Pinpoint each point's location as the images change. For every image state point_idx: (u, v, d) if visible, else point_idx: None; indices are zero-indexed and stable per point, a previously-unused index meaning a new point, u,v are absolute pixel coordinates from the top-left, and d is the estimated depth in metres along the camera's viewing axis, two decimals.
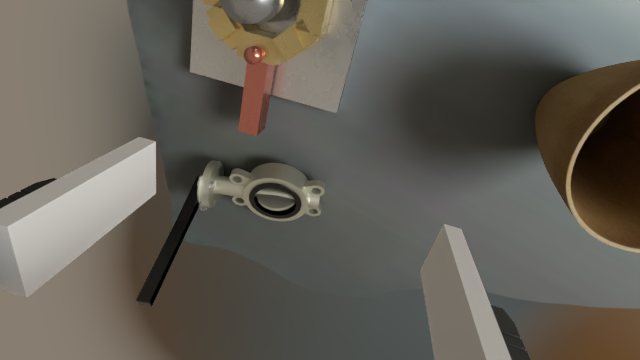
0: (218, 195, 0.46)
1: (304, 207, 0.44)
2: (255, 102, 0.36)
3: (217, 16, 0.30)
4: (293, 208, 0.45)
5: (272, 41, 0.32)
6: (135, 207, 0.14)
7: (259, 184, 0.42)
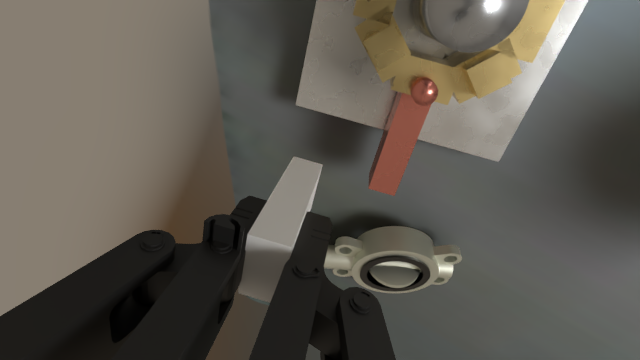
0: None
1: (431, 279, 0.34)
2: (401, 152, 0.25)
3: (382, 35, 0.20)
4: (415, 279, 0.35)
5: (452, 70, 0.21)
6: None
7: (378, 257, 0.32)
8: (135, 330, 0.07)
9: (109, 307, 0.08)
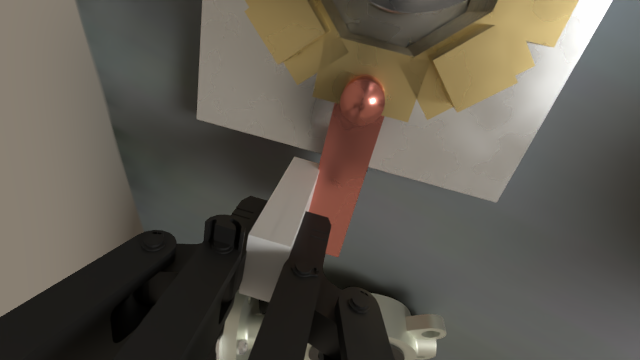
0: None
1: (408, 359, 0.24)
2: (343, 195, 0.16)
3: None
4: None
5: (412, 63, 0.12)
6: None
7: None
8: (136, 330, 0.07)
9: (109, 307, 0.08)
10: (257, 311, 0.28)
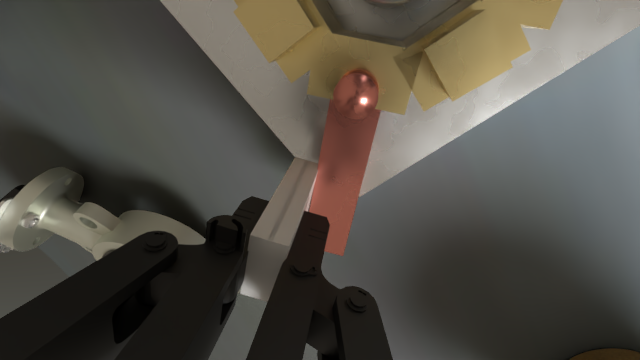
0: None
1: None
2: (344, 192, 0.16)
3: None
4: None
5: (404, 54, 0.12)
6: None
7: None
8: (138, 331, 0.07)
9: (111, 308, 0.08)
10: (75, 198, 0.26)
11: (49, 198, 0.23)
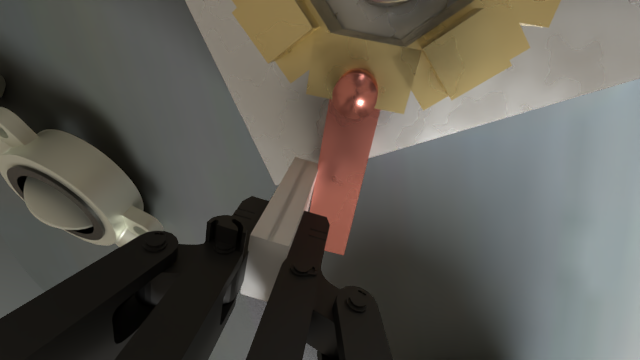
0: None
1: (107, 240, 0.24)
2: (344, 192, 0.16)
3: None
4: (90, 228, 0.25)
5: (403, 54, 0.12)
6: None
7: (33, 168, 0.20)
8: (138, 331, 0.07)
9: (112, 308, 0.08)
10: None
11: None
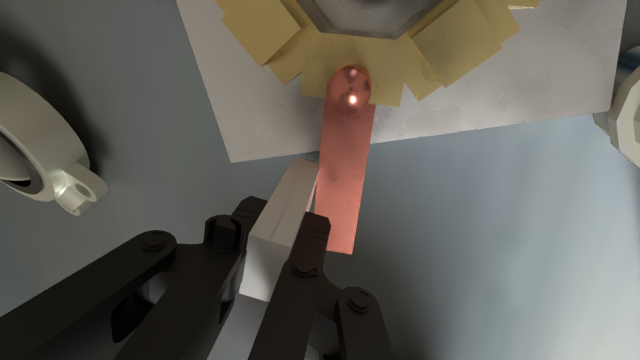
0: None
1: (46, 195, 0.23)
2: (347, 190, 0.16)
3: (248, 1, 0.11)
4: (29, 181, 0.23)
5: (394, 46, 0.12)
6: None
7: None
8: (136, 330, 0.07)
9: (110, 307, 0.08)
10: None
11: None
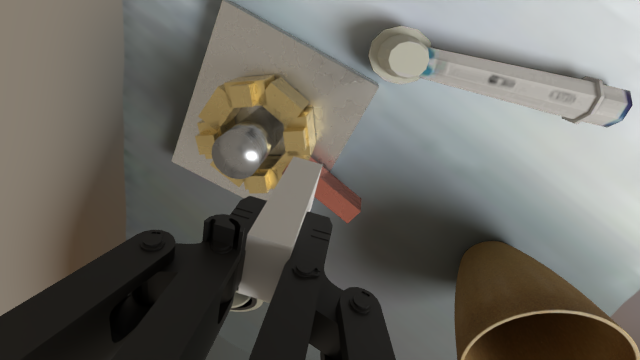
0: None
1: (259, 299, 0.48)
2: (331, 194, 0.36)
3: (249, 183, 0.35)
4: (251, 300, 0.49)
5: (288, 152, 0.34)
6: None
7: None
8: (135, 330, 0.07)
9: (109, 307, 0.08)
10: None
11: None
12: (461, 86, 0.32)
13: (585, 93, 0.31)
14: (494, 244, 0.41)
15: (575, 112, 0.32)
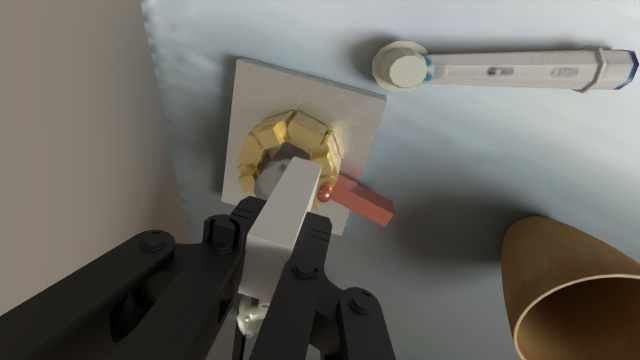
0: None
1: None
2: (364, 204, 0.40)
3: None
4: None
5: None
6: None
7: None
8: (135, 330, 0.07)
9: (108, 307, 0.08)
10: (258, 304, 0.58)
11: (248, 307, 0.55)
12: (462, 83, 0.34)
13: (586, 64, 0.32)
14: (532, 220, 0.42)
15: (581, 83, 0.33)
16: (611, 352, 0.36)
